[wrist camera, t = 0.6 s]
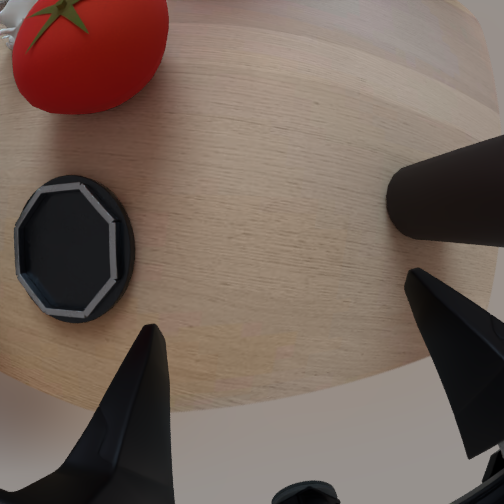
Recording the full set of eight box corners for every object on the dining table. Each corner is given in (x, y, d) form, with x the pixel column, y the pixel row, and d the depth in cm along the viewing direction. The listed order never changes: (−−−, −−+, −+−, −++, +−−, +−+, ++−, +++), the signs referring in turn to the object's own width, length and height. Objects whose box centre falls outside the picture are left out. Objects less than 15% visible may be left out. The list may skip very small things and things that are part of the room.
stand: (165, 248, 24) (159, 250, 22) (80, 346, 25) (70, 354, 22) (74, 148, 23) (62, 143, 21) (4, 249, 24) (-9, 251, 21)
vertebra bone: (53, -14, 20) (78, -10, 18) (47, 34, 26) (70, 48, 24) (-16, 4, 14) (-9, 10, 12) (-18, 55, 19) (-9, 74, 18)
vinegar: (381, 234, 25) (593, 252, 5) (386, 159, 25) (575, 82, 5) (439, 243, 25) (623, 266, 5) (443, 174, 25) (617, 139, 5)
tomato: (56, 48, 22) (1, -4, 10) (173, 6, 22) (151, -73, 11) (52, 150, 23) (-30, 118, 12) (188, 107, 24) (156, 29, 12)
